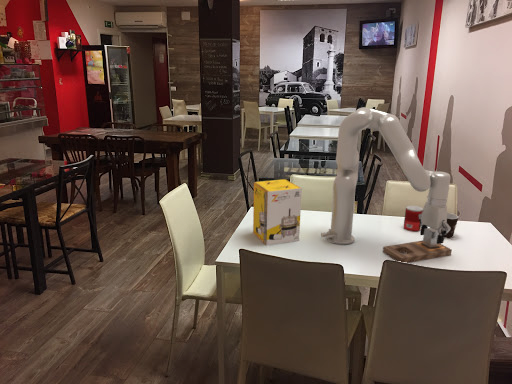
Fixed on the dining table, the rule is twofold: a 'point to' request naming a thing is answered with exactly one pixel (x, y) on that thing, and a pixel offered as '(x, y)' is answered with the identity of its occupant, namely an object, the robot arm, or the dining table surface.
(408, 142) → the robot arm
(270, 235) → the packaging box
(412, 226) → the canned food
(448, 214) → the coffee mug
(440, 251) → the socket board
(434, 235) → the metal block
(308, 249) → the dining table surface
